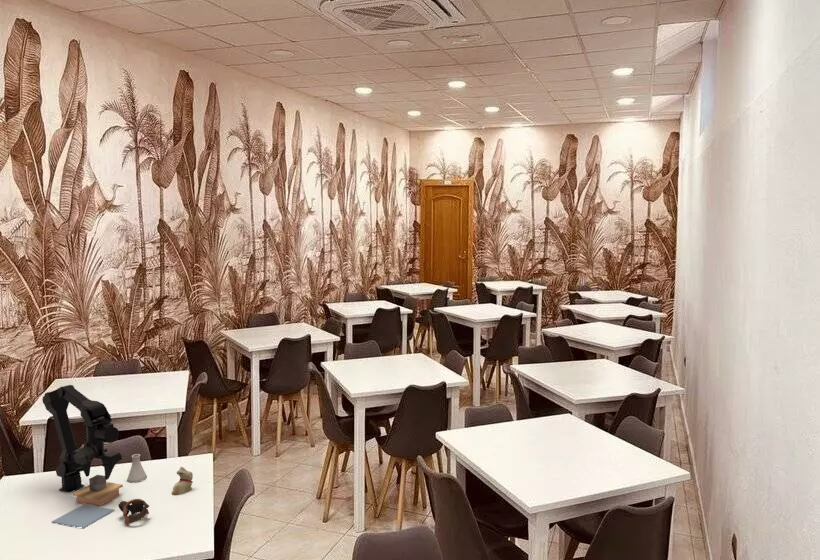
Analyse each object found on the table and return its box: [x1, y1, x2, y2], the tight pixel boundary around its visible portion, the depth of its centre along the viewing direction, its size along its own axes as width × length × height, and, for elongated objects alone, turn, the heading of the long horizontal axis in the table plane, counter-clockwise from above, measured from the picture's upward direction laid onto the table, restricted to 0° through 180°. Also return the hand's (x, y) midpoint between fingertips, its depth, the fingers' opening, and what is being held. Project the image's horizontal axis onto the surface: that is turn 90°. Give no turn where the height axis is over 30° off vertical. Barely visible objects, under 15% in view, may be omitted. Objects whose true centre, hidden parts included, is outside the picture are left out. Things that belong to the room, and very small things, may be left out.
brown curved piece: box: [117, 498, 150, 526], centre depth 218 cm, size 12×9×8 cm
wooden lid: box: [71, 474, 124, 500], centre depth 234 cm, size 12×12×5 cm
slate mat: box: [51, 503, 115, 529], centre depth 220 cm, size 14×14×1 cm
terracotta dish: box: [76, 488, 120, 507], centre depth 234 cm, size 10×10×3 cm
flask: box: [126, 453, 148, 483], centre depth 251 cm, size 7×7×10 cm
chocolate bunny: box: [171, 466, 194, 496], centre depth 240 cm, size 6×8×10 cm
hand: (97, 477), depth 234 cm, fingers open, 9 cm apart
